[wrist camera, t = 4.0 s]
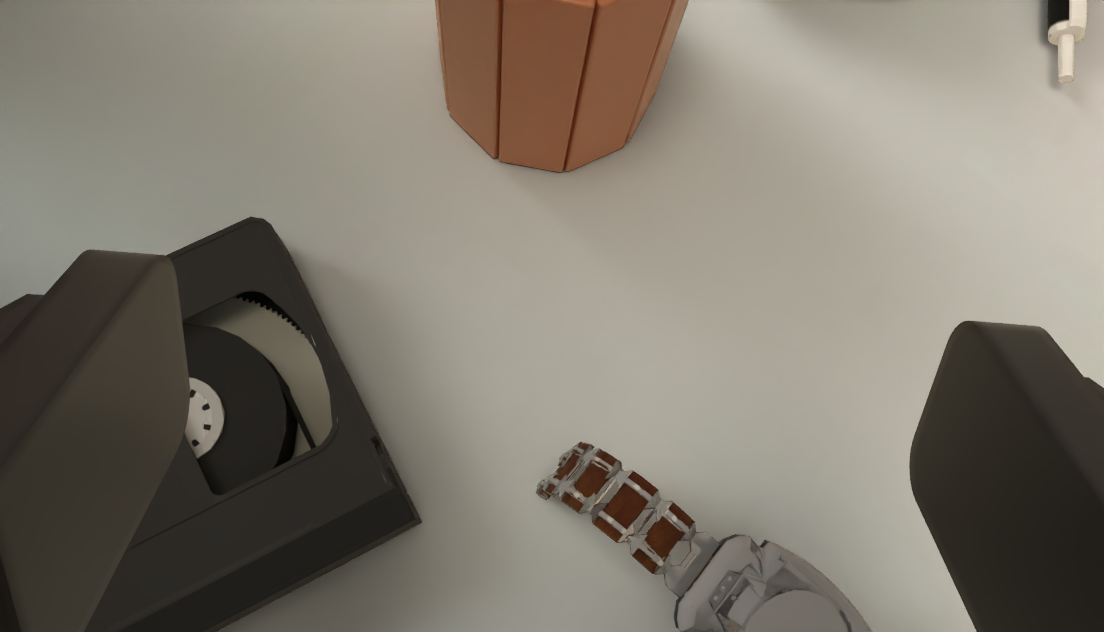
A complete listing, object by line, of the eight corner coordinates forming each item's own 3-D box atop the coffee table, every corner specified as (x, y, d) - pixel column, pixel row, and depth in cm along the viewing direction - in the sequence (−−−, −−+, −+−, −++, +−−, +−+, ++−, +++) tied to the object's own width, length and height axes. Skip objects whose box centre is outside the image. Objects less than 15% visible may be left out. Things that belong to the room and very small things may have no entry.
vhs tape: (281, 237, 25) (263, 209, 23) (422, 522, 23) (415, 519, 21) (-304, 508, 22) (-380, 504, 20) (-188, 845, 21) (-257, 874, 19)
